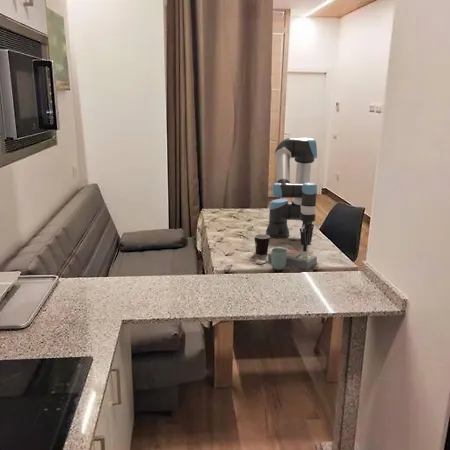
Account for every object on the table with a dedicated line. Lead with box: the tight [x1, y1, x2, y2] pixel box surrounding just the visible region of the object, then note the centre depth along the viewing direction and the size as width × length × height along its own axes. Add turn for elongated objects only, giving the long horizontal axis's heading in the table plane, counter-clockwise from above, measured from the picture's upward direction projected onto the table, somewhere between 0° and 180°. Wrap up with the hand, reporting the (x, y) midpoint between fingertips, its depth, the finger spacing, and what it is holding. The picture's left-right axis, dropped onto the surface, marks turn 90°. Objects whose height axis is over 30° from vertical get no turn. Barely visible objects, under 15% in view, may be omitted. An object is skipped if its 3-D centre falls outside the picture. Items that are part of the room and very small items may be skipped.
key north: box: [298, 256, 313, 261], centre depth 237 cm, size 6×6×4 cm
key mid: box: [287, 249, 301, 258], centre depth 241 cm, size 6×6×4 cm
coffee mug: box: [254, 234, 271, 256], centre depth 256 cm, size 12×9×10 cm
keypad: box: [267, 249, 318, 271], centre depth 242 cm, size 12×23×4 cm, turn 55°
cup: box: [270, 247, 288, 271], centre depth 231 cm, size 8×8×10 cm
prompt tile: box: [253, 258, 268, 266], centre depth 241 cm, size 6×5×1 cm
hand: (305, 256), depth 237 cm, fingers closed
